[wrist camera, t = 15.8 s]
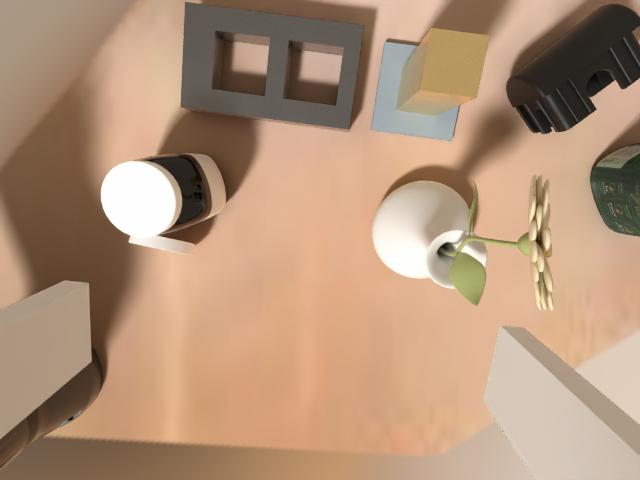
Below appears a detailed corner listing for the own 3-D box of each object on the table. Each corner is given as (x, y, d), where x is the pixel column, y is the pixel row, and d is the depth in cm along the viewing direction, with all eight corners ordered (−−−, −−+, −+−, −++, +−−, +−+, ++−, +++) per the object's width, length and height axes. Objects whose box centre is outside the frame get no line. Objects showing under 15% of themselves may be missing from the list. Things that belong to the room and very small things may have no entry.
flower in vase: (451, 282, 44) (591, 434, 20) (360, 262, 44) (389, 389, 20) (484, 177, 41) (697, 203, 17) (387, 155, 41) (461, 150, 17)
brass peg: (395, 110, 40) (419, 90, 28) (402, 67, 39) (431, 27, 27) (435, 115, 40) (476, 97, 28) (443, 72, 39) (490, 35, 27)
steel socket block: (191, 110, 41) (180, 107, 38) (196, 13, 39) (185, 2, 36) (348, 131, 41) (349, 129, 38) (362, 35, 39) (364, 25, 36)
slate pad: (370, 130, 41) (371, 129, 40) (384, 43, 39) (385, 41, 38) (450, 140, 41) (451, 140, 40) (467, 54, 39) (469, 52, 38)
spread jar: (220, 146, 42) (177, 142, 31) (247, 239, 44) (216, 266, 33) (125, 171, 43) (50, 175, 32) (156, 260, 45) (96, 294, 34)
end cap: (576, 20, 38) (627, -10, 31) (611, 77, 39) (668, 60, 32) (493, 85, 39) (525, 70, 33) (529, 138, 40) (566, 133, 34)
